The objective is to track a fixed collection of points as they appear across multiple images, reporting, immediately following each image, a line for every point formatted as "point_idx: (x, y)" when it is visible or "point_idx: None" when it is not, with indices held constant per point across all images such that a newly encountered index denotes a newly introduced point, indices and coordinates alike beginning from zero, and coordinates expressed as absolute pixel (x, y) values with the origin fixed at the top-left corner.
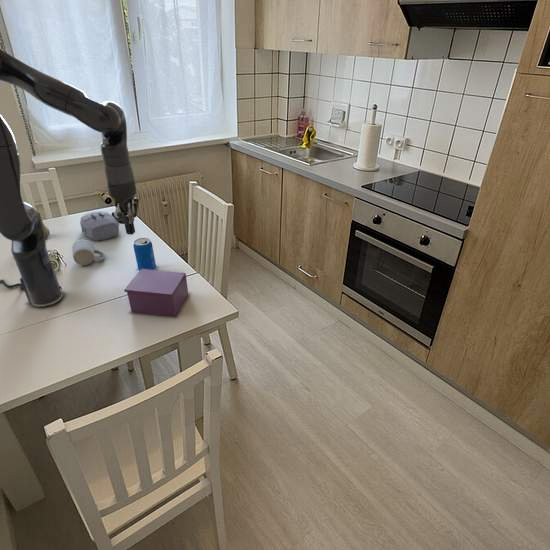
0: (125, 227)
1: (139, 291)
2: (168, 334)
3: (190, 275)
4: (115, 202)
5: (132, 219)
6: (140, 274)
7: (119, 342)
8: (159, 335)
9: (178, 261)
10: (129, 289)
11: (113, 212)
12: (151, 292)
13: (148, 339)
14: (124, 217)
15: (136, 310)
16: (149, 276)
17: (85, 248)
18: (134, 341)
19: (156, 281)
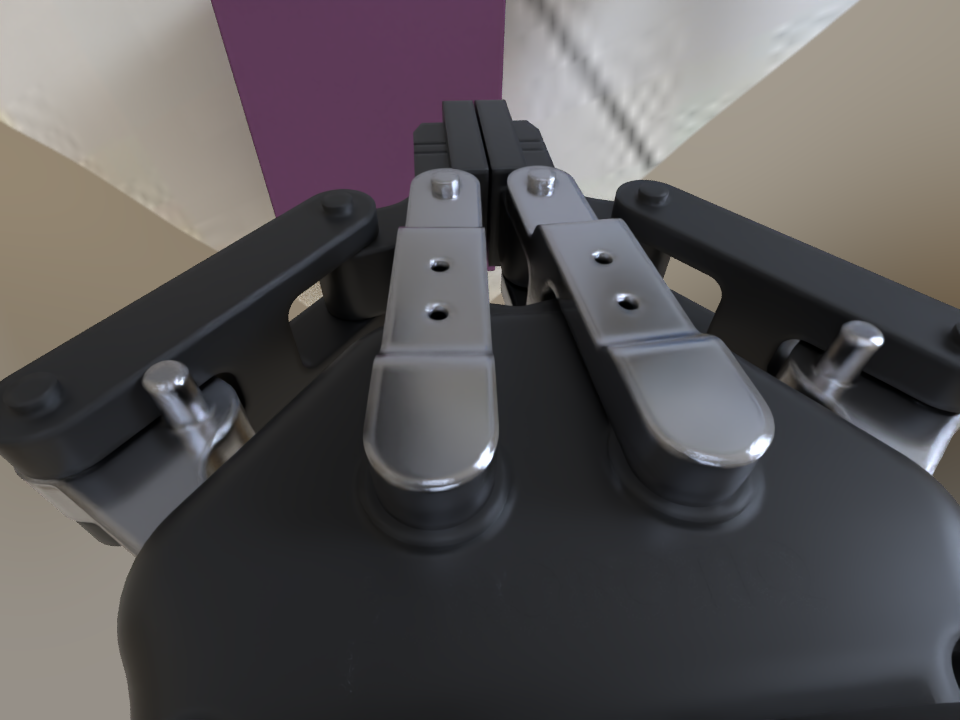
0: (415, 169)
1: (243, 109)
2: (200, 224)
3: (639, 155)
4: (133, 694)
5: (506, 298)
6: (427, 16)
7: (14, 29)
8: (175, 194)
9: (805, 30)
10: (228, 29)
11: (21, 465)
12: (266, 183)
13: (126, 160)
14: (277, 407)
15: None
16: (416, 97)
17: None
18: (74, 104)
19: (377, 164)
